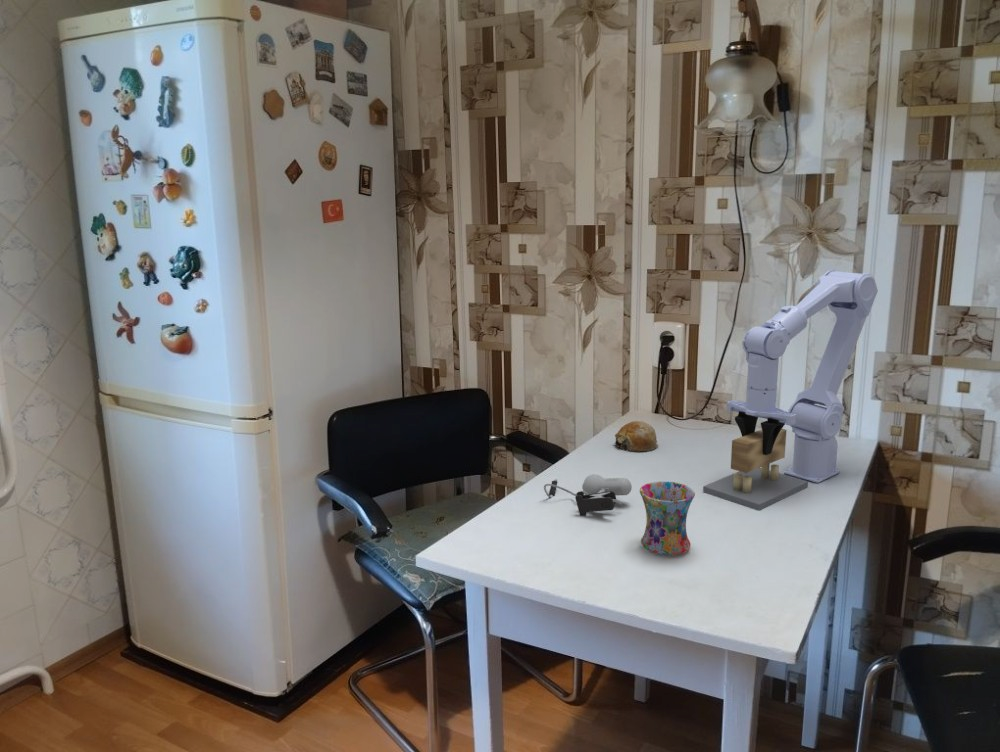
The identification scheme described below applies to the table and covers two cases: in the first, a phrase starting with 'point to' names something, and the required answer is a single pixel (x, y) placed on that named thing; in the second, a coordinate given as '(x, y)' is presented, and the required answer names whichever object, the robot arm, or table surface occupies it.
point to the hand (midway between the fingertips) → (757, 451)
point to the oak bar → (755, 451)
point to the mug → (666, 517)
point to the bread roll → (636, 437)
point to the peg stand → (756, 487)
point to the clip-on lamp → (596, 493)
